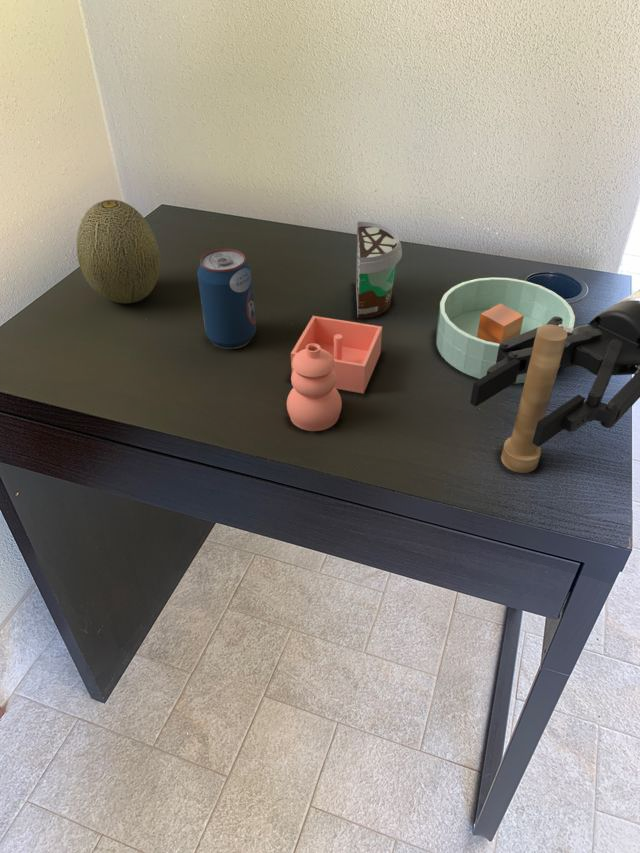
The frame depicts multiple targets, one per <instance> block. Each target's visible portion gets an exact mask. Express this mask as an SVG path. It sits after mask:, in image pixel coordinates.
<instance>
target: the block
mask: <svg viewBox="0 0 640 853" xmlns="http://www.w3.org/2000/svg"><path fill="white" fill-rule="evenodd" d="M523 318H524V315H522V314H520V313H518V312H516V311H514V310H512V309H510V308H508V307H506V306H504V305H502V304H498V305H496V306H494V307H493V308H491V309H489V310H487V311H485V312H483V313H481V316H480V322H479V328H478V333H477V338H479V339H482V340H485V341H488V342H493V343H499V344H500V343H501V342H504V341H506V340H508V339H511V338H513V337H516V336H518V335H520V332H521V327H522V322H523Z"/></svg>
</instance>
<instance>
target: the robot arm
mask: <svg viewBox="0 0 640 853" xmlns="http://www.w3.org/2000/svg"><path fill="white" fill-rule="evenodd" d="M562 322H563V319H562V318H561V317H556V316H555V317H553V318H552V319H551V320H550V321H549V322H548V323H547V324H545V325H548V324H550V325H556V326H559V327H562V328H563V329H565V330H566V332H567V339H566V343H565V346H564V350H563V353H562V357H561V361H560V364H559V366H561V367H563V368H564V369H567V368H571V367H576V366H577V367H581V368H583V369H586V371H588V372H589V373H590V374H592V375H594V376H596V377H595V379H594V382H593V383H592V385H591V388H590V391H589V392H588V394H587V398H586V397H585V396H582V395H581V394H579V393H578V394H577V395H575V396H574V397H573V398H571V399H570V400H568V401H566V402H565V403H564V404H562V405H560V406H559V407H558V408H556V409H555V410H553V411H552V412H550V413H549V414H546V415H545V417H544V418H543V419H541V420H540V421H538V423H537V427H536V430H535V434H534V438H533V442H532V443H533V444H535V445H536V446H538V447H539V446H540V447H541V446H542V445H544V444H545V443H546V442H548V441H549V440H551V439H552V438H553V437H556V436H557V435H558V434H559V433H561V432H563V430H565V431H566V432H568V433H573V432H575V431H576V430H578V429H579V428H581V427H582V426H583V425H585V424H586V423H588V422H589V423H590V422H593V421H598V422H600V425H601V426H602V427H603V428H607V429H611V428H613V427H614V425H617V423H618V422H619V421H620V420H621V419H622V417H623V416H624V415H625V414H626V413H627V412H628V411H629V410H630V409H631V407H633V406H634V405H635V404H636V402H637V401H638V400H639V399H640V289H639V290H637V291H635V292H633V293H631V294H630V295H627V296H626V297H624V298H623V299H621V300H619V301H618V302H617V303H615V304H614V305H611V306H610V307H608V308H606V309H605V310H603V311H601V312H600V313H598V314H596V316H595V317H593V318H592V319H591V320H590V322H588V323H587V324H585V325H578V326H574V328H570V327H567V326H564V325H562ZM538 328H539V327H538ZM538 328H535V329H533V330H530V331H528V332H525V333H523V334H521V335H518V336H516V337H513V338H511V339H508V340H506V341H504V342H501V343H500V344H499V349H498V354H497V359H496V364H495V365H493V366H491V367H489V369H488V370H487V375H486V376H484V377H482V378H481V379H477V380H476V381H474V382H473V384H472V390H471V395H470V401H469V403H470V405H472V406H474V407H475V408H476V407H478V406H479V405H481V404H483V403H484V402H486V401H487V400H489V399H491V398H492V397H494V396H496V395H497V394H499V393H501V392H502V391H504V390H506V389H507V388H509V387H510V386H512V385H513V384H516V383H515V382H516V379H517V375H520V374H525V373H527V370H528V366H529V362H530V358H531V354H532V349H533V345H534V341H535V337H536V333H537V329H538ZM631 375H633V376H632V377H631V378H630V379H629V380H628V381H627V382H626V383H625V384H624V385H623V386H622V387H621V388H620V390H618V392H616V394H614V395H613V397H612V398H610V400H609V401H608V402H607V403H605V402H602V400H603V398H604V395H605V393H606V390H607V388H608V386H609V384H610V381H611V379H612V377H613V376H631Z"/></svg>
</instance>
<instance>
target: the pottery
mask: <svg viewBox="0 0 640 853" xmlns="http://www.w3.org/2000/svg"><path fill="white" fill-rule="evenodd" d="M382 337H383V326H382V325H381V326H379V325H375V324H368V323H362V322H356V321H349V320H342V319H338V318H337V319H336V318H329V317H324V316H317V315H312V317H311V318H310V320H309V321H308V323H307V325H306V327H305V329H304V330H303V331H302V333H301V335H300V337H299V338H298V340H297V342H296V344H295V345H294V347H293V349H292V351H291V352H290V367H291V368H290V369H291V377H290V381H291V386H292V389H291V390H290V392H289V393H288V396H287V398H286V410H287V413H288V416H289V418H290V422H292V424H293V425H294V426H295V427H297V428H298V429H301V430H304V431H309V432H321V431H325V430H327V429H329V428H332V427H333V426H334V425H336V423H337V422H338V420H339V418H340V415H341V411H342V408H343V401H342V396H341V395H340V393H339V390H342V391H347V392H353V393H358V394H365V392H366V389H367V387H368V384H369V382H370V380H371V377H372V375H373V373H374V370H375V367H376V365H377V364H378V360H379V358H380V355H381V352H382Z"/></svg>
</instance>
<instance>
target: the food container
mask: <svg viewBox="0 0 640 853" xmlns="http://www.w3.org/2000/svg"><path fill="white" fill-rule="evenodd" d="M356 229H357V230H356V234H357V235H356V269H355V270H356V272H355V275H356V276H355V293H356V294H355V295H356V309H357V311H356V312H357V319H368V318H373V317H376V316H379V315H381V314H383V313H384V312H386V311H387V310H388V309H389V308H390V305H391V301H392V295H393V289H394V288H393V287H394V281H395V276H396V275H395V274H396V266H397V264H398V263H399V262H400V260H401V259H402V256H403V250H402V244H401V243H402V242H401V241H400V237H399V235H398V233H396V232H395V231H394V230H393V229H391V227H390V228H389V227H388V226H386V225H383V224H380V223H376V222H371V221H362V220H361V221H360V220H359V221H357V228H356Z"/></svg>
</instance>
